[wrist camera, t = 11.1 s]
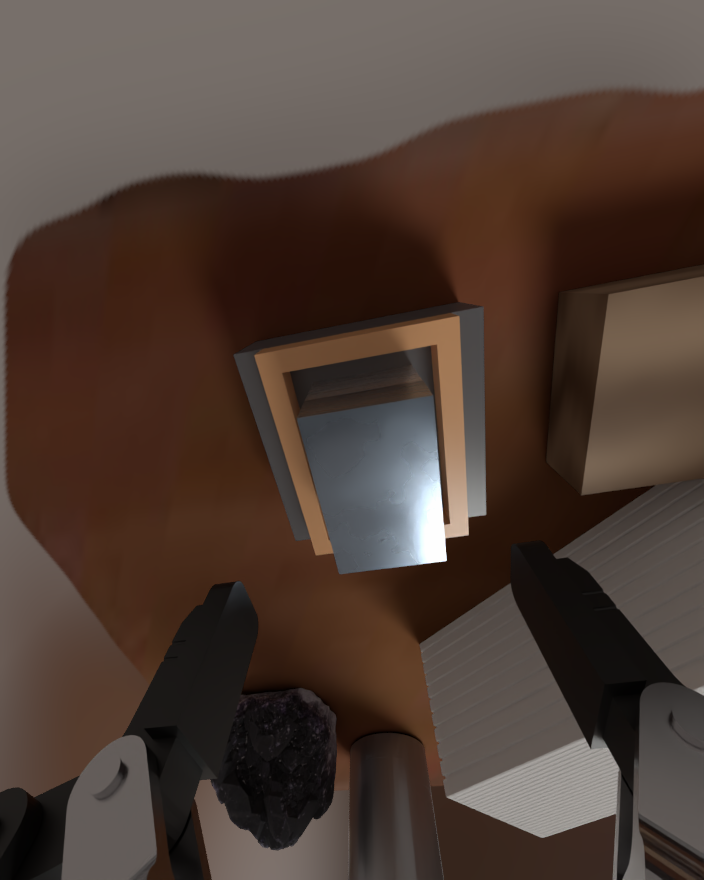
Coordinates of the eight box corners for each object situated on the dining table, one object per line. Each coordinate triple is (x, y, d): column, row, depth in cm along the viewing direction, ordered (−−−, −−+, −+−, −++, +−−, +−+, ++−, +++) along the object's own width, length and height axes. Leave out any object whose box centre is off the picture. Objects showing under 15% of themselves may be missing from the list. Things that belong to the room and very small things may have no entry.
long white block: (771, 403, 21) (1122, 505, 12) (833, 493, 24) (1155, 635, 14) (419, 641, 32) (446, 797, 22) (490, 683, 35) (542, 838, 25)
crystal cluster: (225, 666, 35) (169, 802, 26) (351, 691, 35) (336, 838, 26) (230, 720, 42) (186, 843, 33) (336, 742, 41) (320, 872, 33)
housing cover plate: (422, 380, 13) (433, 395, 12) (436, 531, 17) (446, 560, 15) (304, 400, 14) (296, 418, 12) (341, 543, 17) (339, 574, 15)
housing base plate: (411, 364, 16) (422, 381, 13) (425, 497, 20) (436, 531, 17) (312, 382, 17) (304, 401, 14) (343, 509, 20) (341, 544, 17)
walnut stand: (716, 436, 22) (787, 466, 18) (545, 461, 23) (581, 495, 19) (775, 250, 17) (886, 242, 14) (558, 292, 18) (608, 294, 15)
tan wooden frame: (466, 479, 24) (495, 531, 19) (304, 503, 25) (291, 558, 20) (458, 302, 19) (495, 309, 14) (255, 341, 20) (222, 361, 15)
